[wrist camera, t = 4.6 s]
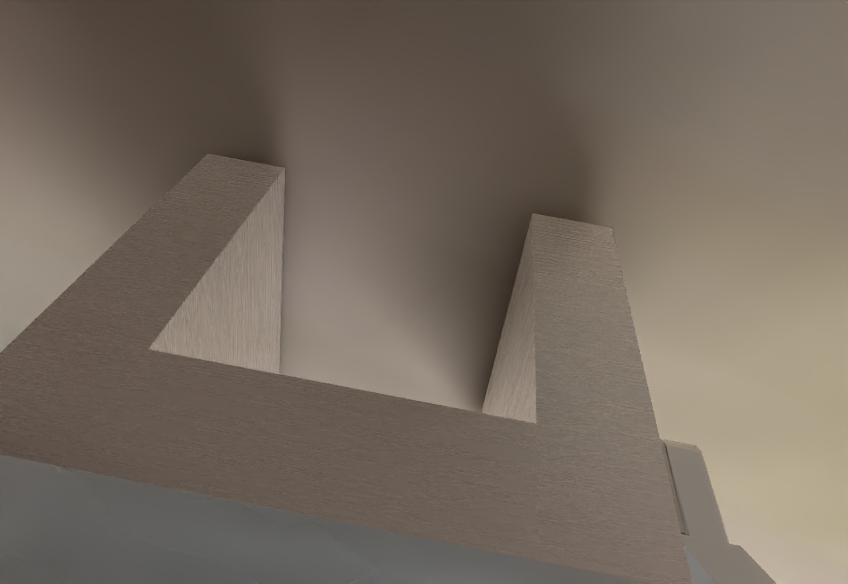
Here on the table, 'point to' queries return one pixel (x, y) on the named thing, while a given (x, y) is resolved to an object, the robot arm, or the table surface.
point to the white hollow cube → (321, 425)
